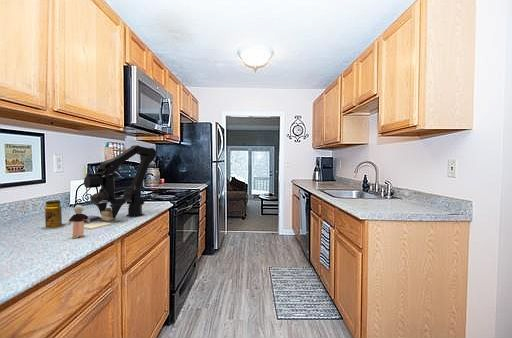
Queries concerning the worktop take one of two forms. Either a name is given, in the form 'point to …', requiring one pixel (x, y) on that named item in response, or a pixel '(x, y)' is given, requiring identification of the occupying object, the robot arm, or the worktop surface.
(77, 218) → the grandmother figurine
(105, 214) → the stamp
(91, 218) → the ink pad
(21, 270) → the worktop surface
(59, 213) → the condiment
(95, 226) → the cream square plate
